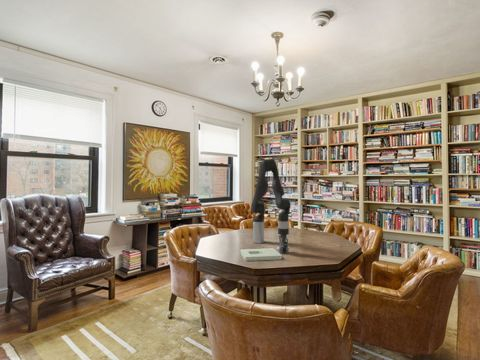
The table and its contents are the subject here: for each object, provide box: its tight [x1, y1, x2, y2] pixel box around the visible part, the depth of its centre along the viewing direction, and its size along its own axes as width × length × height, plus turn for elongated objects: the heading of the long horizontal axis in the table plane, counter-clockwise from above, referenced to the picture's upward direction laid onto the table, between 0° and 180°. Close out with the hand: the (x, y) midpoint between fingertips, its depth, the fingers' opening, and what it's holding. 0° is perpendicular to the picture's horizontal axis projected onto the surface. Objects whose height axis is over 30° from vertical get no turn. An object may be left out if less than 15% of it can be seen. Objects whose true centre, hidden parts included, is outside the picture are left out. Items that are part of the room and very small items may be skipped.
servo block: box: [276, 244, 291, 255], centre depth 198 cm, size 4×9×6 cm, turn 98°
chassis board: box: [240, 247, 283, 262], centre depth 189 cm, size 20×24×3 cm
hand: (283, 251), depth 198 cm, fingers closed on servo block, 4 cm apart
